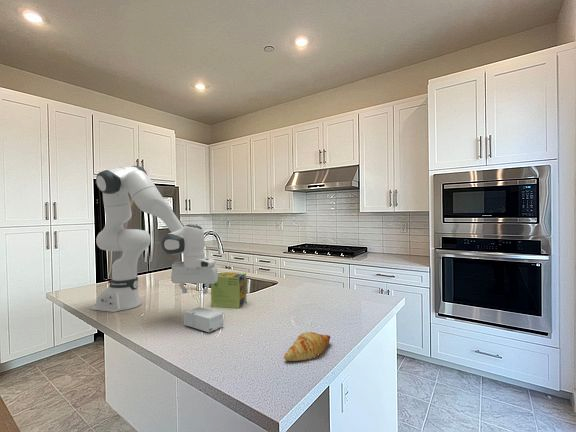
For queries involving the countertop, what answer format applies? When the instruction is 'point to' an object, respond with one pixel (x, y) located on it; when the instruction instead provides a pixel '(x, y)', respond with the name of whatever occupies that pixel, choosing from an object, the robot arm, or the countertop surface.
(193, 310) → the skincare box
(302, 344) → the croissant
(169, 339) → the countertop surface
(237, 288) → the protein box
